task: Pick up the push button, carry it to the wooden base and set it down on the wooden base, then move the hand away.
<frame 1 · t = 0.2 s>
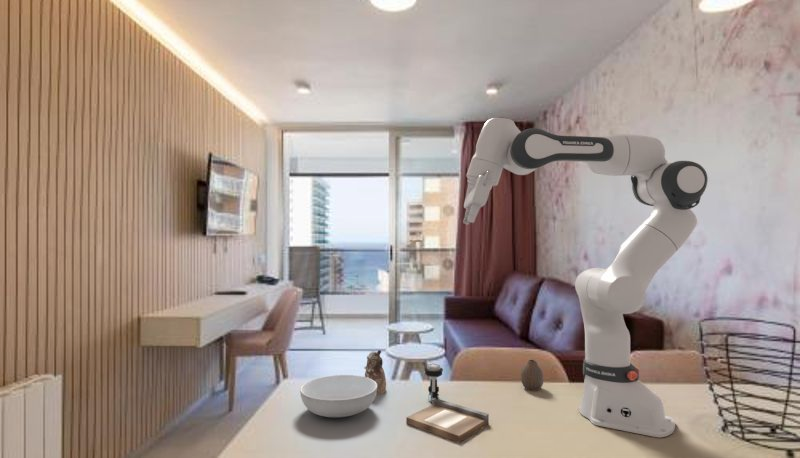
hand: (468, 223, 121), 51 cm above the table, tool tilted 20°, fingers open, 8 cm apart
serving bowl: (339, 411, 121), on the table
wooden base: (445, 424, 113), on the table
push button: (433, 401, 129), on the table
figurine: (374, 390, 137), on the table
vase: (532, 389, 140), on the table
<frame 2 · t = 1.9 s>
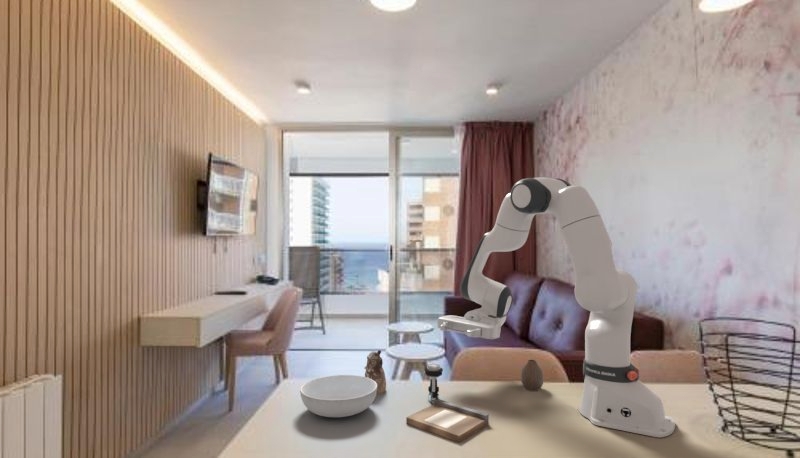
hand: (455, 331, 137), 18 cm above the table, tool horizontal, fingers open, 8 cm apart
nothing on the table moved.
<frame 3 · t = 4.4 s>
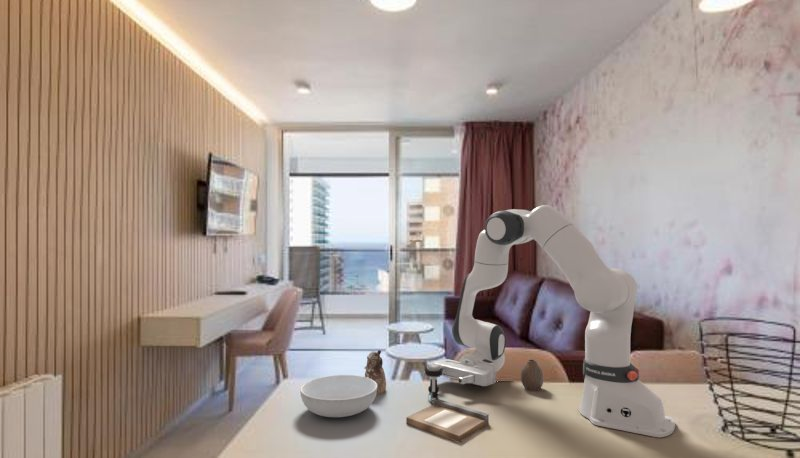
hand: (447, 377, 134), 5 cm above the table, tool horizontal, fingers open, 8 cm apart
nothing on the table moved.
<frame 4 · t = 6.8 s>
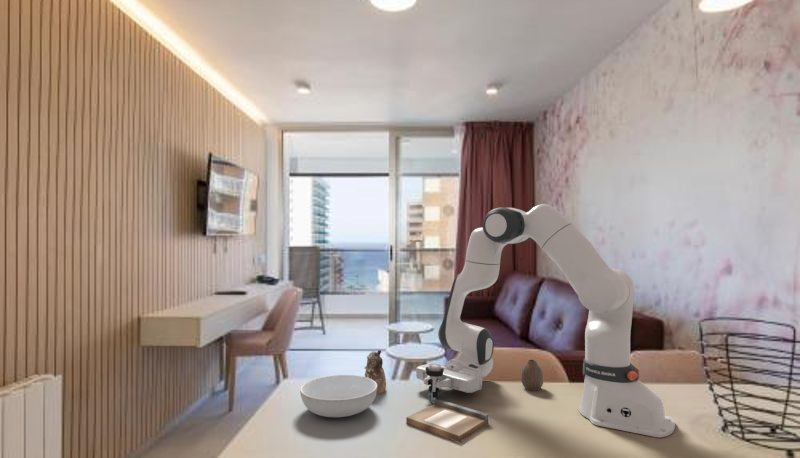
hand: (431, 383, 128), 5 cm above the table, tool horizontal, fingers closed on push button, 2 cm apart
push button: (433, 401, 129), on the table, touching gripper
everything else where it was.
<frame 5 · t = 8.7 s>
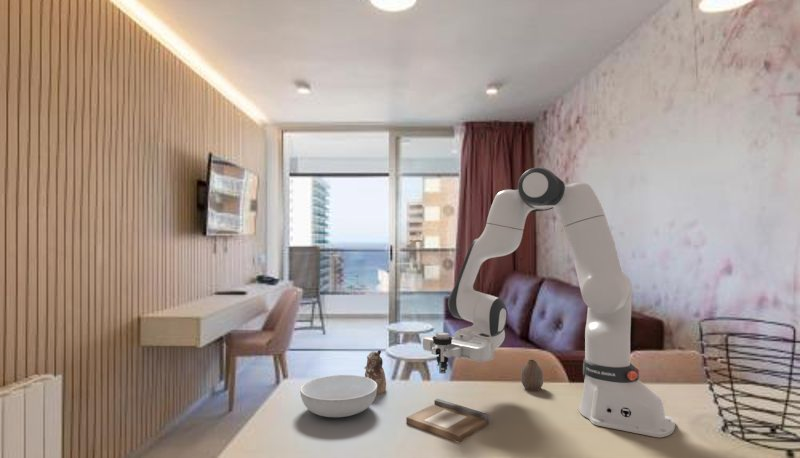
hand: (439, 352, 119), 17 cm above the table, tool horizontal, fingers closed on push button, 2 cm apart
push button: (442, 372, 119), point 11 cm above the table, touching gripper
everything else where it was.
when the fingers open (7 cm above the table, at t = 11.1 s): push button stays where it is, resting on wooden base.
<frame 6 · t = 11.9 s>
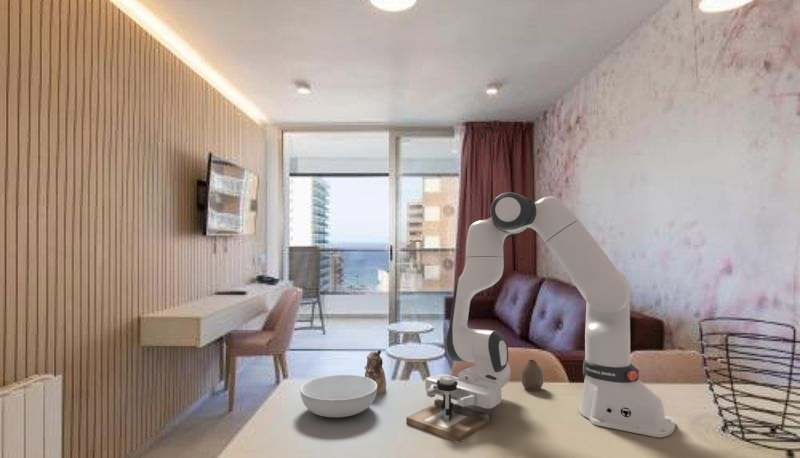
hand: (443, 398, 112), 7 cm above the table, tool horizontal, fingers open, 8 cm apart
push button: (447, 419, 112), point 1 cm above the table, touching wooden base
everything else where it was.
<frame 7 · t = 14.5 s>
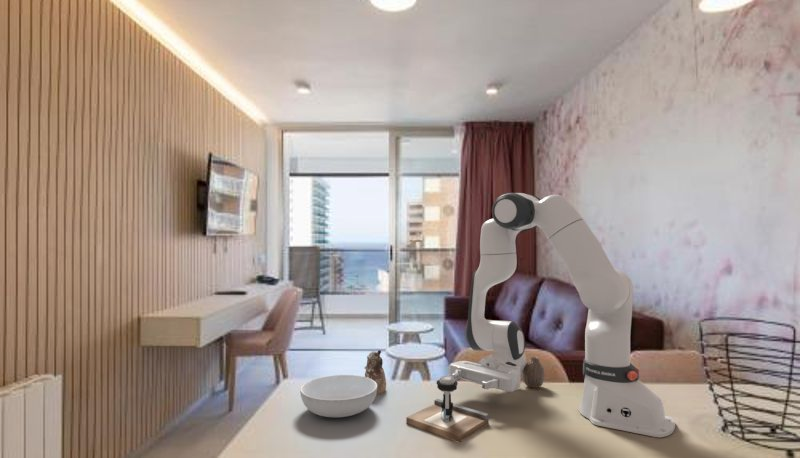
hand: (468, 381, 121), 8 cm above the table, tool horizontal, fingers open, 8 cm apart
vase: (532, 386, 141), on the table, touching arm
everything else where it was.
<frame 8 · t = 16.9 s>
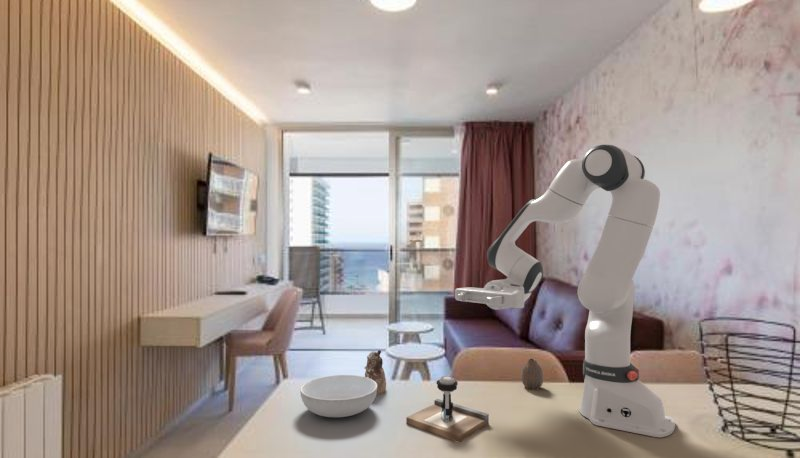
hand: (473, 299, 125), 30 cm above the table, tool horizontal, fingers open, 8 cm apart
vase: (532, 388, 141), on the table
everything else where it was.
at the end: push button inside the target area on the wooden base (0.4 cm from its centre), point 1.3 cm above the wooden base's base; push button tilted 0°; the gripper is holding nothing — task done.
